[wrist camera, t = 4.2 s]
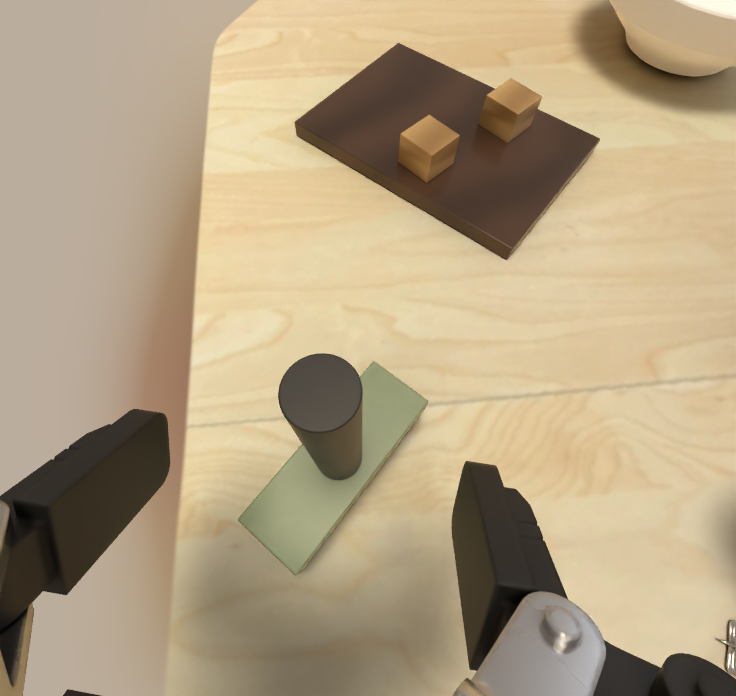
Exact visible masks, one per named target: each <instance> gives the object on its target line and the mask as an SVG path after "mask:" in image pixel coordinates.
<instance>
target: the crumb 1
mask: <svg viewBox="0 0 736 696" xmlns="http://www.w3.org/2000/svg"><path fill="white" fill-rule="evenodd" d="M459 138H460V135H459V134H457V133H456V132H454V131H453V130H451V129H450V128H448V127H447V126H445V125H444V124H442V123H441V122H439V121H438V120H436V119H435V118H433V117H432V116H430V115H428V116H426V117H425V118H423V119H422V120H420V121H419V122H417V123H416V124H414V125H413V126H411V127H410V128H408V129H407V130H405V131H404V132H402V133H401V135H400V145H399V155H398V162H399V163H400V164H401V165H403V166H404V167H405V168H407V169H408V170H410V171H411V172H412V173H414V174H415V175H416V176H418V177H419V178H420V179H422V180H423V181H424V182H426V183H427V182H429V181H430V180H431V179H433V178H434V177H435V176H437V175H438V174H440V173H441V172H442V171H444V170H445V169H446V168H448V167H449V166H450V165H452V164H453V162H454V158H455V154H456V150H457V146H458V142H459Z"/></svg>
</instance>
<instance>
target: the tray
mask: <svg viewBox="0 0 736 696" xmlns="http://www.w3.org/2000/svg"><path fill="white" fill-rule="evenodd" d="M493 90H495V89H494V88H492V87H490V86H488V85H486V84H484V83H482V82H480V81H478V80H475V79H473V78H471V77H469V76H467V75H465V74H463V73H461V72H459V71H456V70H454V69H452V68H450V67H448V66H446V65H444V64H442V63H440V62H438V61H435V60H433V59H431V58H429V57H427V56H425V55H423V54H421V53H419V52H417V51H414V50H412V49H410V48H408V47H406V46H404V45H402V44H400V43H398V44H396V45H395V46H394V47H393V48H391V49H390V50H389V51H387V52H386V53H385V54H383V55H382V56H381V57H379V58H378V59H377V60H375V61H374V62H373V63H372V64H370V65H369V66H368V67H366V68H365V69H364V70H362V71H361V72H360V73H358V74H357V75H356V76H354V77H353V78H352V79H351V80H349V81H348V82H347V83H345V84H344V85H343V86H341V87H340V88H339V89H337V90H336V91H335V92H333V93H332V94H331V95H329V96H328V97H327V98H326V99H324V100H323V101H322V102H320V103H319V104H318V105H316V106H315V107H314V108H312V109H311V110H310V111H308V112H307V113H306V114H305V115H303V116H302V117H301V118H299V119H298V120H297V121H295V128H296V134H297V135H298V136H299V137H301V138H303V139H304V140H306V141H308V142H309V143H311V144H313V145H314V146H316V147H318V148H319V149H321V150H323V151H325V152H326V153H328V154H330V155H331V156H333V157H335V158H336V159H338V160H340V161H341V162H343V163H345V164H346V165H348V166H350V167H351V168H353V169H355V170H357V171H358V172H360V173H362V174H363V175H365V176H367V177H368V178H370V179H372V180H373V181H375V182H377V183H378V184H380V185H382V186H384V187H385V188H387V189H389V190H390V191H392V192H394V193H395V194H397V195H399V196H400V197H402V198H404V199H405V200H407V201H409V202H411V203H412V204H414V205H416V206H417V207H419V208H421V209H422V210H424V211H426V212H427V213H429V214H431V215H432V216H434V217H436V218H438V219H439V220H441V221H443V222H444V223H446V224H448V225H449V226H451V227H453V228H454V229H456V230H458V231H459V232H461V233H463V234H465V235H466V236H468V237H470V238H471V239H473V240H475V241H476V242H478V243H480V244H481V245H483V246H485V247H486V248H488V249H490V250H491V251H493V252H495V253H497V254H498V255H500V256H502V257H503V258H505V259H508V258H509V256H510V255H511V254H512V253H513V251H514V250H515V249H516V248H517V246H518V245H519V244H520V243H521V241H522V240H523V239H524V237H525V236H526V235H527V234H528V232H529V231H530V230H531V229H532V227H533V226H534V225H535V224H536V222H537V221H538V220H539V219H540V217H541V216H542V215H543V214H544V212H545V211H546V210H547V209H548V207H549V206H550V205H551V204H552V202H553V201H554V200H555V199H556V197H557V196H558V195H559V194H560V192H561V191H562V190H563V189H564V187H565V186H566V185H567V184H568V182H569V181H570V180H571V179H572V177H573V176H574V175H575V174H576V172H577V171H578V170H579V169H580V167H581V166H582V165H583V164H584V162H585V161H586V160H587V159H588V157H589V156H590V155H591V153H592V152H593V151H594V149H595V148H596V146H597V144H598V143H599V141H600V139H599V138H597V137H595V136H593V135H591V134H589V133H587V132H585V131H583V130H580V129H578V128H576V127H574V126H572V125H570V124H568V123H566V122H564V121H562V120H559V119H557V118H555V117H553V116H551V115H549V114H547V113H545V112H543V111H541V110H538V109H537V111H536V113H535V116H534V118H533V121H532V123H531V125H530V126H529V127H528V128H527V129H525V130H524V131H523V132H521V133H520V134H519V135H518V136H516V137H515V138H514V139H512V140H511V141H510V142H508V143H507V142H505V141H504V140H502V139H500V138H499V137H497V136H496V135H494V134H493V133H491V132H490V131H488V130H487V129H485V128H483V127H482V126H480V125H479V124H478V123H479V120H480V116H481V113H482V109H483V106H484V102H485V99H486V95H487V94H489V93H490V92H492V91H493ZM428 115H430V116H432V117H433V118H435V119H436V120H438V121H439V122H441V123H442V124H444V125H445V126H447V127H448V128H450V129H451V130H453V131H454V132H456V133H457V134H459V135H460V138H459V142H458V146H457V150H456V154H455V158H454V162H453V164H452V165H450V166H449V167H448V168H446V169H445V170H444V171H442V172H441V173H440V174H438V175H437V176H435V177H434V178H433V179H431V180H430V181H429V182H427V183H426V182H424V181H423V180H422V179H420V178H419V177H418V176H416V175H415V174H414V173H412V172H411V171H410V170H408V169H407V168H405V167H404V166H403V165H401V164H400V163H399V162H398V155H399V145H400V135H401V133H402V132H404V131H405V130H407V129H408V128H410V127H411V126H413V125H414V124H416V123H417V122H419V121H420V120H422V119H423V118H425V117H426V116H428Z"/></svg>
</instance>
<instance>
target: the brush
mask: <svg viewBox="0 0 736 696" xmlns="http://www.w3.org/2000/svg"><path fill="white" fill-rule="evenodd" d="M278 398H279V404H280V408H281V410H282V413H283V414H284V416H285V418H286V419H287V421H288V422H289V424H290V425H291V427H292V428H293V430H294V431H295V433H296V435H297V436H298V438H299V439H300V441H301V442H302V445H301V446H300V447H299V449H298V450H297V451H296V452H295V453H294V454H293V456H292V457H291V458H290V459H289V460H288V461H287V463H286V464H285V465H284V466H283V467H282V468H281V470H280V471H279V472H278V473H277V474H276V475H275V477H274V478H273V479H272V480H271V481H270V482H269V483H268V485H267V486H266V487H265V488H264V489H263V490H262V492H261V493H260V494H259V495H258V496H257V497H256V499H255V500H254V501H253V502H252V503H251V504H250V506H249V507H248V508H247V509H246V510H245V511H244V513H243V514H242V515H241V516H240V517H239V518H238V521H239V522H240V523H241V524H242V525H243V526H244V527H245V528H246V529H247V530H248V531H249V532H250V533H251V534H253V535H254V536H255V537H256V538H257V539H258V540H259V541H260V542H261V543H262V544H263V545H264V546H265V547H266V548H267V549H268V550H269V551H270V552H271V553H272V554H273V555H274V556H275V557H276V558H278V559H279V560H280V561H281V562H282V563H283V564H284V565H285V566H286V567H287V568H288V569H289V570H290V571H291V572H292V573H293V574H294V575H298V574H299V573H301V572H302V571H303V569H304V568H305V567H306V565H307V564H308V563H309V561H310V560H311V559H312V557H313V556H314V555H315V553H316V552H317V551H318V550H319V548H320V547H321V546H322V544H323V543H324V542H325V540H326V539H327V538H328V536H329V535H330V534H331V532H332V531H333V530H334V528H335V527H336V526H337V524H338V523H339V522H340V520H341V519H342V518H343V517H344V515H345V514H346V513H347V511H348V510H349V509H350V507H351V506H352V505H353V503H354V502H355V501H356V499H357V498H358V497H359V495H360V494H361V493H362V491H363V490H364V489H365V487H366V486H367V485H368V483H369V482H370V481H371V480H372V478H373V477H374V476H375V474H376V473H377V472H378V470H379V469H380V468H381V466H382V465H383V464H384V462H385V461H386V460H387V458H388V457H389V456H390V454H391V453H392V452H393V450H394V449H395V448H396V446H397V445H398V444H399V443H400V441H401V440H402V439H403V437H404V436H405V435H406V433H407V432H408V431H409V429H410V428H411V427H412V425H413V424H414V423H415V421H416V420H417V419H418V417H419V416H420V415H421V413H422V412H423V411H424V409H425V408H426V406H427V404H428V400H426V399H425V398H423V397H422V396H421V395H419V394H418V393H417V392H415V391H414V390H413V389H411V388H410V387H409V386H407V385H406V384H404V383H403V382H402V381H400V380H399V379H398V378H396V377H395V376H394V375H392V374H391V373H389V372H388V371H387V370H385V369H384V368H383V367H381V366H380V365H379V364H377V363H376V362H372V363H371V365H370V366H369V367H368V368H367V369H366V370H365V372H364V373H363V374H362V375H361V376H360V377H359V375H358V373H357V371H356V370H355V369H354V367H353V366H352V365H351V364H350V363H348V362H347V361H346V360H344V359H342V358H340V357H338V356H335V355H331V354H313V355H309V356H306V357H304V358H302V359H300V360H298V361H297V362H296V363H294V364H293V365H292V366H291V367H290V368H289V369H288V370H287V371H286V373H285V374H284V376H283V378H282V380H281V383H280V386H279V393H278Z"/></svg>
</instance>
